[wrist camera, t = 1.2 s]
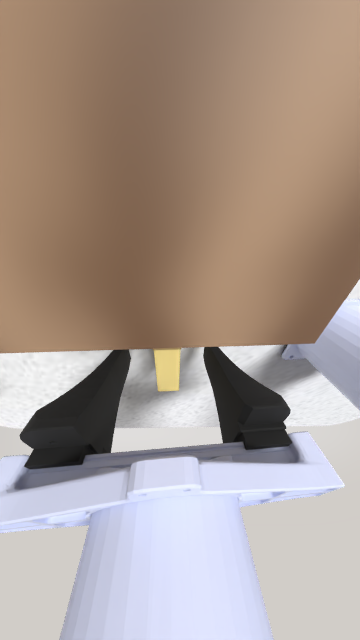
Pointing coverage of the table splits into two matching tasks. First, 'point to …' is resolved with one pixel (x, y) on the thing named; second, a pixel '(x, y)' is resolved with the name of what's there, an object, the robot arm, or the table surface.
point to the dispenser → (177, 172)
